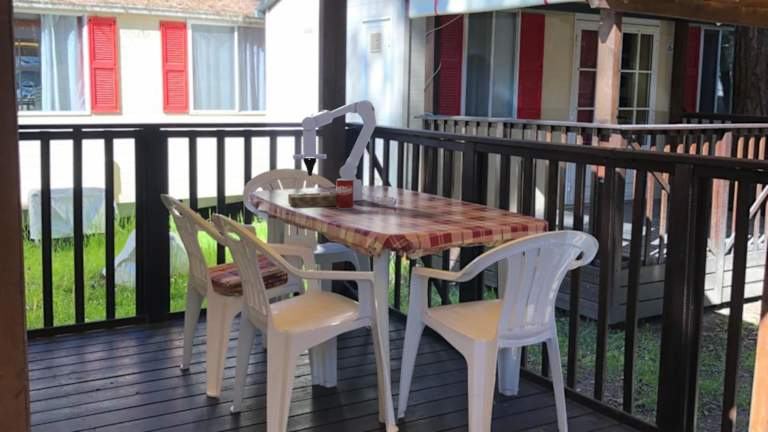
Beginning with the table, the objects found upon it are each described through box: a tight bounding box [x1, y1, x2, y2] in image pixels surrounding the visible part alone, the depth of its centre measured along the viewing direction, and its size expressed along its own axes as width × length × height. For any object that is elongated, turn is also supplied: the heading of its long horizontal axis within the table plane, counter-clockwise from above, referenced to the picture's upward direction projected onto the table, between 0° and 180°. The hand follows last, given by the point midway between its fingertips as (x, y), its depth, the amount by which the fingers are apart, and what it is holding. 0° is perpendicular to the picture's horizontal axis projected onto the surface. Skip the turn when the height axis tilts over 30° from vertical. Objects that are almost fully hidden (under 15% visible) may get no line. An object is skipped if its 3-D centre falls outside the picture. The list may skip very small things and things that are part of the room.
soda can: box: [335, 177, 355, 210], centre depth 338 cm, size 7×7×12 cm
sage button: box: [296, 192, 308, 196], centre depth 347 cm, size 4×4×4 cm
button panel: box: [287, 192, 336, 208], centre depth 349 cm, size 20×10×4 cm, turn 104°
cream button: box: [319, 191, 331, 196], centre depth 350 cm, size 4×4×4 cm
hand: (309, 175), depth 363 cm, fingers closed
